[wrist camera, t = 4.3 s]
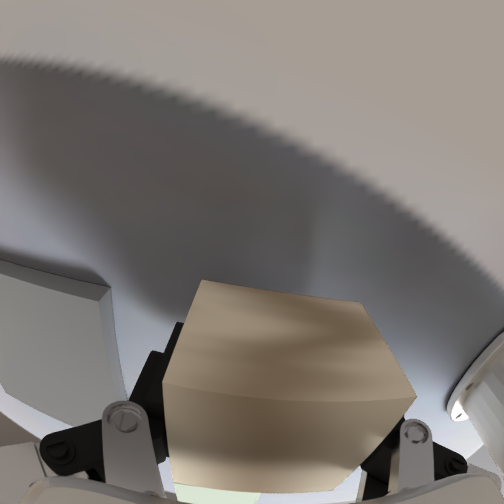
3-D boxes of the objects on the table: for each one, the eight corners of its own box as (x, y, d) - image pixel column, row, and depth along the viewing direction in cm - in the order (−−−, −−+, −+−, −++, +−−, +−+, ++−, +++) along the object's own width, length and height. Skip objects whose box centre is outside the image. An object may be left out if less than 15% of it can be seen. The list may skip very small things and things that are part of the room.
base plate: (110, 287, 13) (98, 301, 11) (135, 432, 18) (131, 446, 16) (-33, 249, 12) (-45, 256, 10) (12, 383, 16) (5, 392, 15)
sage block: (259, 437, 18) (263, 490, 13) (249, 466, 20) (250, 510, 15) (182, 429, 17) (173, 482, 13) (184, 459, 19) (178, 503, 15)
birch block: (360, 302, 10) (417, 396, 5) (316, 404, 12) (332, 490, 7) (201, 279, 10) (162, 381, 5) (193, 391, 12) (173, 481, 7)
